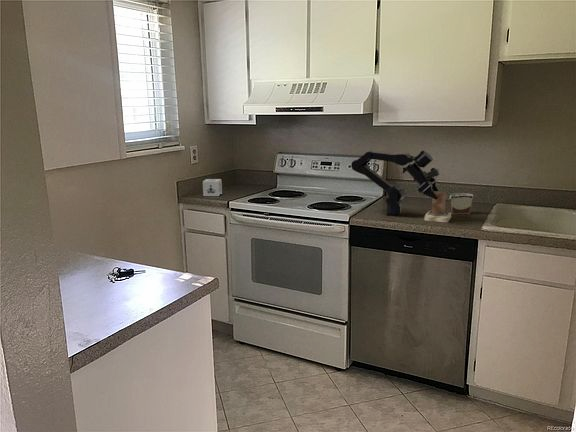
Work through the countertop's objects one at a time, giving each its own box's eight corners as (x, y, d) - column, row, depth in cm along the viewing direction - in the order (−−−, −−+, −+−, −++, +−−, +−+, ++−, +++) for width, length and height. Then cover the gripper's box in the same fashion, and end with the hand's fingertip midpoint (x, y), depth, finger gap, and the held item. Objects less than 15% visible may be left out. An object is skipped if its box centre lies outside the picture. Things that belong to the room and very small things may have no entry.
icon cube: (207, 194, 311) (206, 179, 309) (222, 194, 310) (221, 179, 308) (203, 197, 301) (202, 181, 299) (218, 197, 301) (218, 181, 298)
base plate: (424, 220, 233) (424, 213, 232) (428, 215, 242) (428, 209, 242) (447, 222, 228) (448, 215, 227) (451, 217, 238) (451, 211, 237)
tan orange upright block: (431, 214, 233) (432, 192, 231) (433, 212, 238) (434, 190, 236) (443, 215, 231) (444, 193, 228) (444, 213, 236) (446, 191, 233)
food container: (467, 211, 252) (469, 192, 249) (472, 213, 246) (474, 194, 243) (445, 211, 251) (446, 193, 249) (449, 214, 245) (450, 195, 243)
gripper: (426, 165, 223) (448, 189, 221) (433, 160, 239) (454, 183, 237) (408, 180, 228) (430, 204, 226) (416, 175, 245) (437, 198, 242)
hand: (438, 197), depth 233 cm, fingers open, 9 cm apart
